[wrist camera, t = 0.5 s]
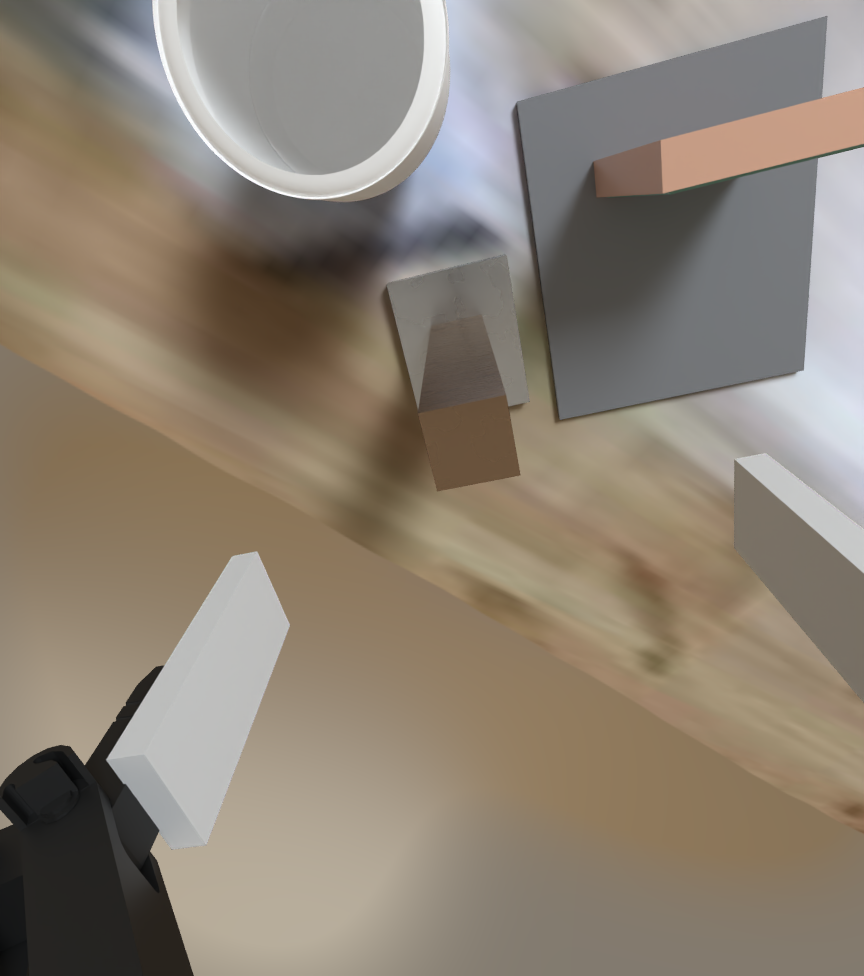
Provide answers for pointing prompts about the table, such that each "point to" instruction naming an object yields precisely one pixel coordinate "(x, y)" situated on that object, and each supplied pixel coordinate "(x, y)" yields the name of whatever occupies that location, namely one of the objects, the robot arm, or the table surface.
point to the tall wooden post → (463, 367)
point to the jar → (311, 88)
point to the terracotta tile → (735, 148)
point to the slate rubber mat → (672, 229)
